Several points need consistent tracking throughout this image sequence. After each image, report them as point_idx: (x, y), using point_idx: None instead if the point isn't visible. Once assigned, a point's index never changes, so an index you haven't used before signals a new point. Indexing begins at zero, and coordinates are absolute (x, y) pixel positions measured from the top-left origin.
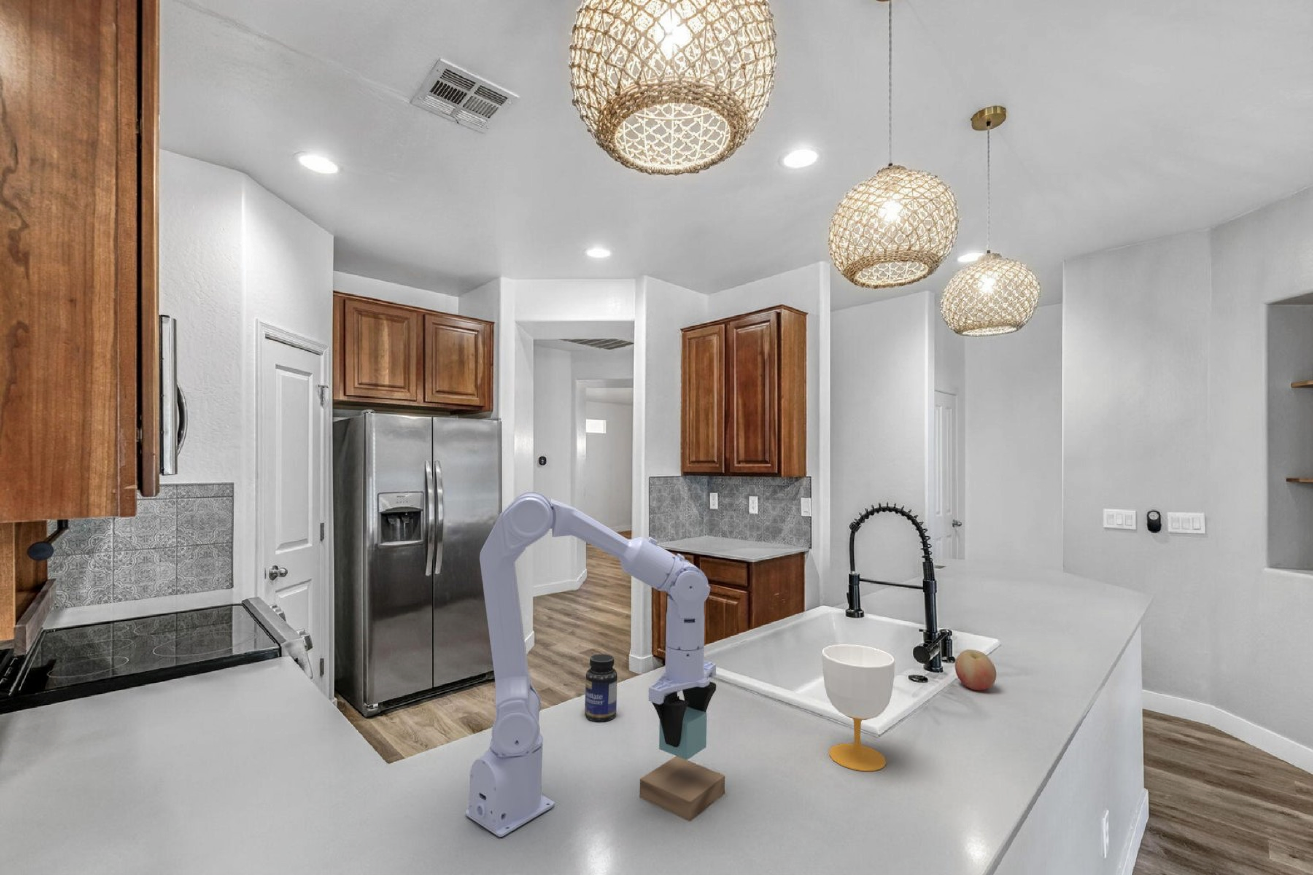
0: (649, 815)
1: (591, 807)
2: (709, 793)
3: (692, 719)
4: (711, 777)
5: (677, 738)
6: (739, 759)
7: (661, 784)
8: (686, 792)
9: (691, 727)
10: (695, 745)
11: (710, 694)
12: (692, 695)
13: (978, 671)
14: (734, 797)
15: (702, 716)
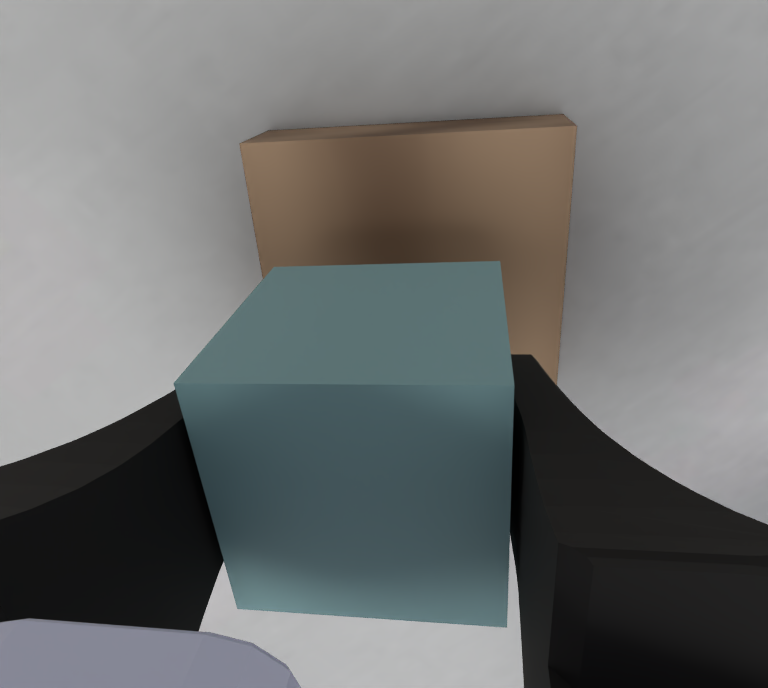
0: (633, 274)
1: (716, 460)
2: (391, 131)
3: (388, 403)
4: (308, 185)
5: (550, 378)
6: (20, 244)
7: (528, 327)
8: (512, 195)
9: (439, 356)
10: (393, 285)
11: (3, 490)
12: (152, 608)
13: None
14: (260, 71)
15: (250, 376)
